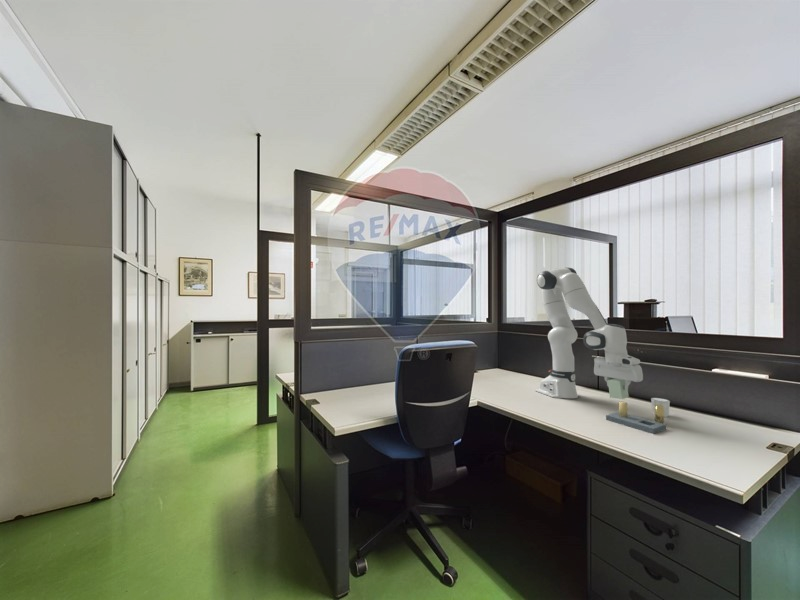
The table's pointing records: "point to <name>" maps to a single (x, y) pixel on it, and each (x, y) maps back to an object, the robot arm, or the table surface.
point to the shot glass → (661, 402)
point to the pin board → (634, 420)
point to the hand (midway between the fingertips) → (617, 388)
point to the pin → (659, 413)
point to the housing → (617, 389)
